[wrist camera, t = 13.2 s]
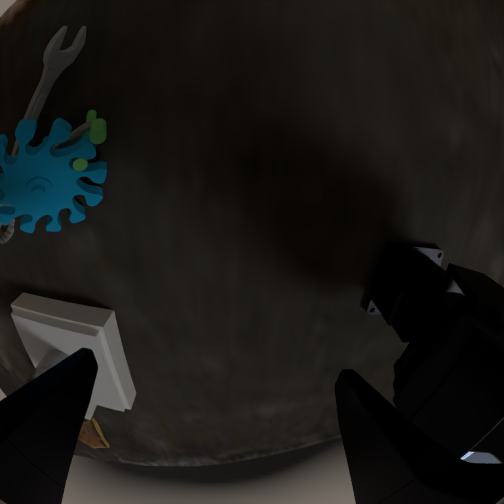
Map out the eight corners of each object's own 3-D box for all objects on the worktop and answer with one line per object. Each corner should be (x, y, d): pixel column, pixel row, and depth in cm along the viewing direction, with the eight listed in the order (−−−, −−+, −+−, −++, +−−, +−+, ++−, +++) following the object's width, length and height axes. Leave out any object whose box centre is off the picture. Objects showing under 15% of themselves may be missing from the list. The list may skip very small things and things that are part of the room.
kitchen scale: (114, 310, 22) (95, 340, 18) (140, 406, 28) (132, 433, 24) (20, 291, 21) (-2, 312, 17) (59, 384, 27) (47, 405, 23)
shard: (94, 413, 30) (90, 422, 28) (132, 439, 33) (129, 448, 31) (66, 420, 32) (63, 428, 31) (99, 444, 35) (96, 451, 33)
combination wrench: (-6, 251, 16) (74, 20, 10) (-14, 244, 16) (64, 16, 9) (17, 236, 20) (100, 33, 13) (10, 229, 19) (89, 29, 13)
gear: (41, 254, 18) (-47, 198, 9) (44, 201, 20) (-25, 142, 11) (146, 189, 18) (63, 83, 9) (137, 140, 20) (78, 49, 11)
